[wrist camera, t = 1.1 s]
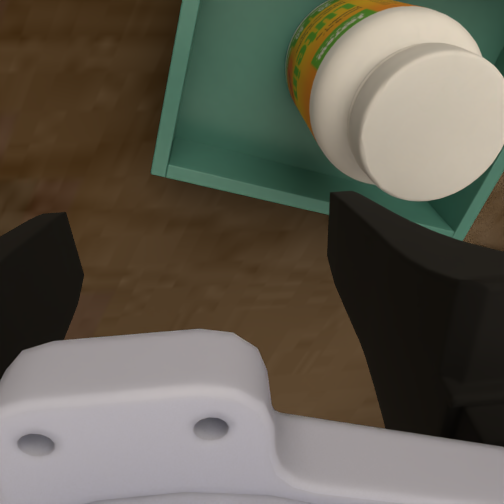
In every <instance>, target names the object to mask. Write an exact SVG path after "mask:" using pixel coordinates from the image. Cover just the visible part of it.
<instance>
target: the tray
mask: <svg viewBox="0 0 504 504" xmlns="http://www.w3.org/2000/svg"><path fill="white" fill-rule="evenodd" d="M326 1H328V0H182V3H181V9H180V14H179V20H178V25H177V31H176V36H175V42H174V47H173V53H172V58H171V64H170V69H169V75H168V80H167V86H166V91H165V97H164V102H163V107H162V113H161V118H160V124H159V129H158V135H157V140H156V146H155V151H154V157H153V162H152V168H151V174H152V175H157V176H161V177H165V176H166V178H170V179H174V180H179V181H183V182H187V183H192V184H196V185H200V186H205V187H209V188H214V189H218V190H222V191H227V192H231V193H235V194H240V195H244V196H248V197H253V198H257V199H262V200H266V201H270V202H275V203H279V204H283V205H288V206H292V207H296V208H301V209H305V210H310V211H314V212H318V213H323V214H327V215H329V202H330V192H340V191H354V192H357V193H359V194H361V195H363V196H365V197H367V198H369V199H370V200H372V201H374V202H376V203H378V204H379V205H381V206H383V207H385V208H387V209H388V210H390V211H392V212H394V213H396V214H398V215H400V216H402V217H404V218H406V219H408V220H410V221H412V222H414V223H416V224H419V225H421V226H423V227H425V228H428V229H430V230H433V231H435V232H438V233H440V234H443V235H446V236H449V237H452V238H455V239H457V240H461V241H463V239H464V238H465V236H466V234H467V232H468V231H469V229H470V227H471V226H472V224H473V222H474V220H475V219H476V217H477V215H478V214H479V212H480V210H481V209H482V207H483V205H484V203H485V202H486V200H487V198H488V197H489V195H490V193H491V192H492V190H493V188H494V186H495V185H496V183H497V181H498V180H499V178H500V176H501V174H502V173H503V171H504V145H503V147H502V149H501V151H500V152H499V154H498V155H497V157H496V158H495V160H494V161H493V163H492V164H491V165H490V166H489V168H488V169H487V170H486V171H485V172H484V173H483V174H482V175H481V176H480V177H479V178H477V179H476V180H475V181H474V182H472V183H471V184H470V185H468V186H467V187H465V188H463V189H462V190H460V191H458V192H456V193H454V194H451V195H449V196H446V197H443V198H440V199H436V200H430V201H407V200H403V199H399V198H396V197H393V196H391V195H389V194H387V193H385V192H384V191H382V190H381V189H380V188H378V187H377V186H376V185H374V184H368V183H364V182H361V181H358V180H355V179H353V178H351V177H349V176H347V175H346V174H344V173H343V172H341V171H340V170H339V169H337V168H336V167H335V166H334V165H333V164H332V163H331V162H330V161H329V160H328V158H327V157H326V156H325V154H324V153H323V151H322V150H321V148H320V147H319V145H318V143H317V142H316V140H315V138H314V136H313V135H312V133H311V131H310V129H309V127H308V126H307V124H306V122H305V120H304V119H303V117H302V115H301V114H300V112H299V110H298V108H297V107H296V105H295V103H294V101H293V99H292V97H291V95H290V93H289V90H288V86H287V82H286V76H285V62H286V55H287V50H288V47H289V44H290V41H291V39H292V37H293V35H294V33H295V31H296V29H297V28H298V26H299V25H300V23H301V22H302V21H303V20H304V18H305V17H306V16H307V15H308V14H309V13H310V12H311V11H313V10H314V9H315V8H316V7H317V6H319V5H321V4H322V3H324V2H326ZM393 1H398V2H402V3H407V4H411V5H416V6H421V7H426V8H429V9H432V10H436V11H438V12H440V13H443V14H445V15H447V16H449V17H451V18H452V19H454V20H455V21H457V22H458V23H459V24H461V25H462V26H463V27H464V28H465V29H466V30H467V31H468V32H469V34H470V35H471V36H472V38H473V39H474V40H475V42H476V43H477V45H478V47H479V50H480V52H481V55H482V57H483V58H485V59H486V60H488V61H489V62H490V63H491V64H493V65H494V66H495V67H496V68H497V69H498V71H499V72H500V73H501V74H502V76H503V78H504V0H393Z"/></svg>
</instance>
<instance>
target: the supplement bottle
mask: <svg viewBox="0 0 504 504" xmlns="http://www.w3.org/2000/svg"><path fill="white" fill-rule="evenodd" d="M285 76H286V82H287V86H288V90H289V93H290V95H291V97H292V99H293V101H294V103H295V105H296V107H297V108H298V110H299V112H300V114H301V115H302V117H303V119H304V120H305V122H306V124H307V126H308V127H309V129H310V131H311V133H312V135H313V136H314V138H315V140H316V142H317V143H318V145H319V147H320V148H321V150H322V151H323V153H324V154H325V156H326V157H327V158H328V160H329V161H330V162H331V163H332V164H333V165H334V166H335V167H336V168H337V169H339V170H340V171H341V172H343V173H344V174H346V175H347V176H349V177H351V178H353V179H355V180H358V181H361V182H364V183H368V184H374V185H376V186H377V187H378V188H380V189H381V190H382V191H384V192H385V193H387V194H389V195H391V196H393V197H396V198H399V199H403V200H407V201H430V200H436V199H440V198H443V197H446V196H449V195H451V194H454V193H456V192H458V191H460V190H462V189H463V188H465V187H467V186H468V185H470V184H471V183H472V182H474V181H475V180H476V179H477V178H479V177H480V176H481V175H482V174H483V173H484V172H485V171H486V170H487V169H488V168H489V166H490V165H491V164H492V163H493V161H494V160H495V158H496V157H497V155H498V154H499V152H500V151H501V149H502V147H503V145H504V78H503V76H502V74H501V73H500V72H499V71H498V69H497V68H496V67H495V66H494V65H493V64H491V63H490V62H489V61H488V60H486V59H485V58H483V57H482V55H481V52H480V50H479V47H478V45H477V43H476V42H475V40H474V39H473V38H472V36H471V35H470V34H469V32H468V31H467V30H466V29H465V28H464V27H463V26H462V25H461V24H459V23H458V22H457V21H455V20H454V19H452V18H451V17H449V16H447V15H445V14H443V13H440V12H438V11H436V10H432V9H429V8H426V7H421V6H416V5H411V4H407V3H402V2H398V1H393V0H328V1H326V2H324V3H322V4H321V5H319V6H317V7H316V8H315V9H314V10H313V11H311V12H310V13H309V14H308V15H307V16H306V17H305V18H304V20H303V21H302V22H301V23H300V25H299V26H298V28H297V29H296V31H295V33H294V35H293V37H292V39H291V41H290V44H289V47H288V50H287V55H286V62H285Z"/></svg>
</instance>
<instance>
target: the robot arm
mask: <svg viewBox="0 0 504 504" xmlns="http://www.w3.org/2000/svg"><path fill="white" fill-rule="evenodd" d="M327 256H328V260H329V264H330V268H331V272H332V276H333V280H334V283H335V286H336V288H337V290H338V293H339V295H340V297H341V300H342V302H343V304H344V307H345V309H346V311H347V314H348V316H349V318H350V320H351V323H352V325H353V327H354V330H355V332H356V334H357V336H358V339H359V341H360V343H361V346H362V349H363V351H364V354H365V357H366V360H367V364H368V367H369V371H370V374H371V377H372V381H373V384H374V387H375V391H376V395H377V398H378V402H379V405H380V409H381V413H382V416H383V420H384V424H385V428H386V429H384V428H377V427H371V426H364V425H358V424H351V423H345V422H338V421H331V420H325V419H318V418H312V417H305V416H299V415H292V414H286V413H279V412H277V411H275V410H274V409H273V407H272V403H271V396H270V388H269V381H268V373H267V369H266V366H265V364H264V362H263V360H262V357H261V355H260V353H259V350H258V348H257V347H255V346H253V345H252V344H250V343H249V342H247V341H245V340H244V339H242V338H241V337H239V336H237V335H236V334H234V333H232V332H223V331H215V330H206V329H190V330H178V331H166V332H154V333H142V334H131V335H119V336H107V337H95V338H83V339H71V340H64V338H65V335H66V333H67V330H68V328H69V325H70V323H71V320H72V318H73V315H74V313H75V310H76V307H77V305H78V301H79V296H80V292H81V287H82V282H83V277H84V273H83V270H82V266H81V263H80V259H79V256H78V252H77V249H76V245H75V242H74V239H73V235H72V232H71V228H70V225H69V221H68V218H67V214H66V212H61V213H48V214H41V215H39V216H36V217H34V218H32V219H30V220H28V221H27V222H25V223H23V224H21V225H19V226H18V227H16V228H14V229H13V230H11V231H9V232H8V233H6V234H4V235H2V236H1V237H0V504H504V252H503V251H498V250H494V249H490V248H486V247H482V246H478V245H474V244H471V243H467V242H464V241H461V240H457V239H455V238H452V237H449V236H446V235H443V234H440V233H438V232H435V231H433V230H430V229H428V228H425V227H423V226H421V225H419V224H416V223H414V222H412V221H410V220H408V219H406V218H404V217H402V216H400V215H398V214H396V213H394V212H392V211H390V210H388V209H387V208H385V207H383V206H381V205H379V204H378V203H376V202H374V201H372V200H370V199H369V198H367V197H365V196H363V195H361V194H359V193H357V192H354V191H340V192H330V202H329V225H328V249H327Z"/></svg>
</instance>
